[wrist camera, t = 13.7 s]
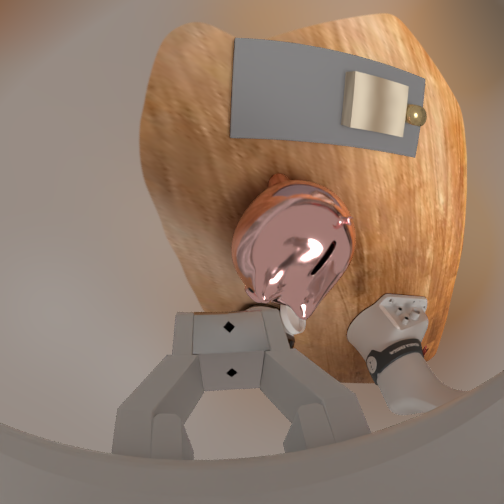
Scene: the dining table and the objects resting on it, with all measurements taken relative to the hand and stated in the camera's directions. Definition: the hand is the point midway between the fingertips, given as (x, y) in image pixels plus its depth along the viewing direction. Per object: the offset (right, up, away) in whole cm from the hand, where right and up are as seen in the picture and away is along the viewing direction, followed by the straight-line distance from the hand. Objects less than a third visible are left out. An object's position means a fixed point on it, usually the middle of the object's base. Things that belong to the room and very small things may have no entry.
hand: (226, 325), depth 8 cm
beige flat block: (+18, +24, +26) cm, 39 cm away
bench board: (+13, +24, +26) cm, 38 cm away
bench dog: (+24, +24, +27) cm, 43 cm away
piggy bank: (+5, +7, +36) cm, 37 cm away
